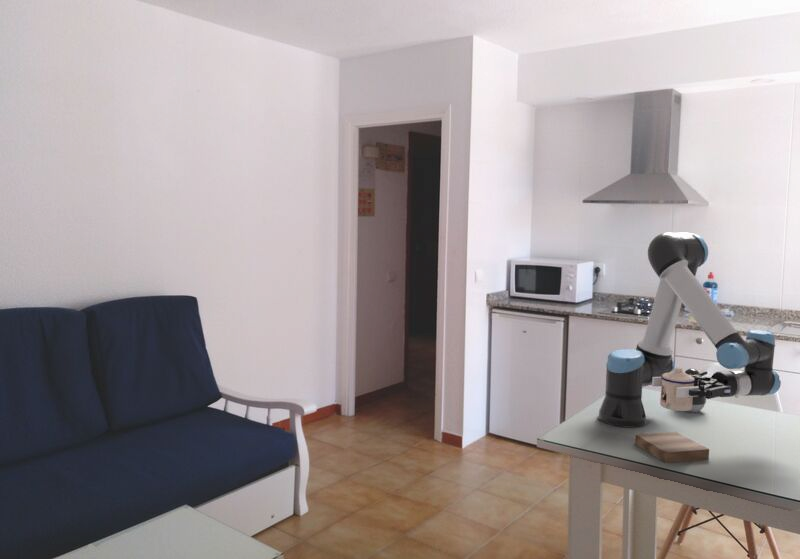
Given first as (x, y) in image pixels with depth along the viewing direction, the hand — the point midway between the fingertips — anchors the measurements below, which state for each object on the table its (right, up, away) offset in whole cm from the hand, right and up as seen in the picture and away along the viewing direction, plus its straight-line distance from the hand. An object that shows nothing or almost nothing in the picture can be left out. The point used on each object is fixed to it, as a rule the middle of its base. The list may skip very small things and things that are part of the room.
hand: (664, 386), depth 191 cm
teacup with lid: (+4, -7, +1) cm, 8 cm away
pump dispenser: (+27, -16, +45) cm, 55 cm away
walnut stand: (+3, -20, +3) cm, 20 cm away
